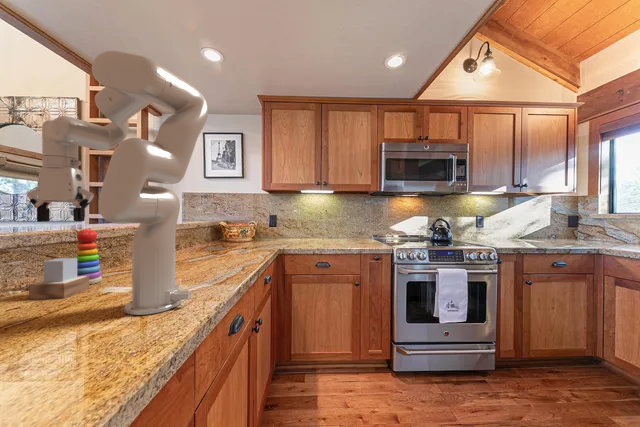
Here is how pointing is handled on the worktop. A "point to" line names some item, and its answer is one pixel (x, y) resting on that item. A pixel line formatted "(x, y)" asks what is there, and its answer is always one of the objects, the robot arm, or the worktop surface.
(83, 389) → the worktop surface
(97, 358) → the worktop surface
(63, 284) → the walnut tray
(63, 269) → the grey block
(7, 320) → the worktop surface
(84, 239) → the stacking toy
